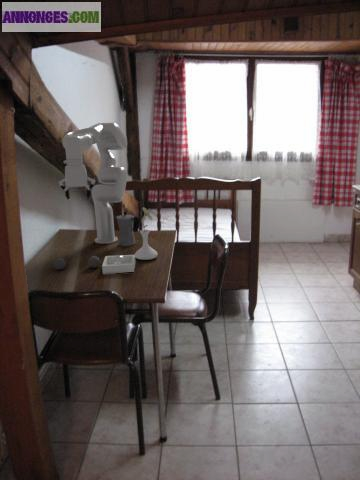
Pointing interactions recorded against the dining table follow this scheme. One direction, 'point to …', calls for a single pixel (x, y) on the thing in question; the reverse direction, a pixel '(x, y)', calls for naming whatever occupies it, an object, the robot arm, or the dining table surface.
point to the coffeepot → (127, 229)
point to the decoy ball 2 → (94, 261)
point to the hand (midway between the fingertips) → (78, 198)
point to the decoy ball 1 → (59, 263)
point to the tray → (110, 268)
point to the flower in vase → (145, 243)
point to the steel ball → (119, 260)
